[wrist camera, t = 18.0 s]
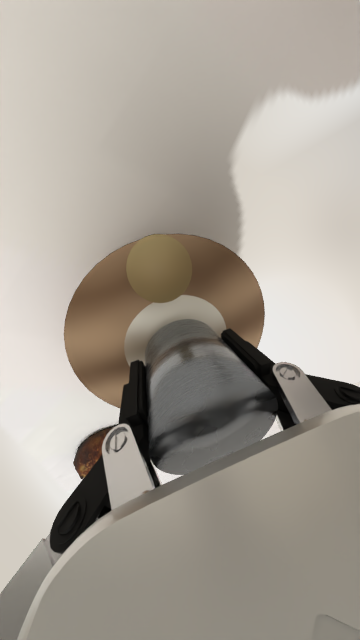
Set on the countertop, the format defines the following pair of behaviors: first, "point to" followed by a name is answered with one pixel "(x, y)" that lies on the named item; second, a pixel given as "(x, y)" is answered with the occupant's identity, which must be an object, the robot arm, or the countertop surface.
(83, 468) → the bread roll
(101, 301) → the turntable
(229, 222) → the countertop surface
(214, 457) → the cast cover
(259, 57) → the countertop surface
